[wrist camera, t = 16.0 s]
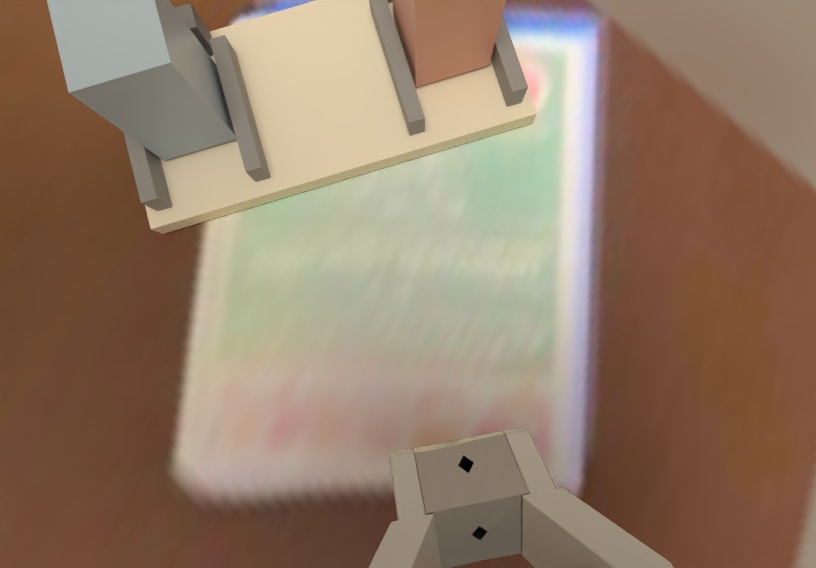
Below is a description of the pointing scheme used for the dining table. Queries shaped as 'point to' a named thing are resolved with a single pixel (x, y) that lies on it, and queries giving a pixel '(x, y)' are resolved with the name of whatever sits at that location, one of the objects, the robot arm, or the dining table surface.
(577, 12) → the dining table surface
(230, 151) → the cream socket board
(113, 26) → the blue-grey rectangular block
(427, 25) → the salmon orange upright block
